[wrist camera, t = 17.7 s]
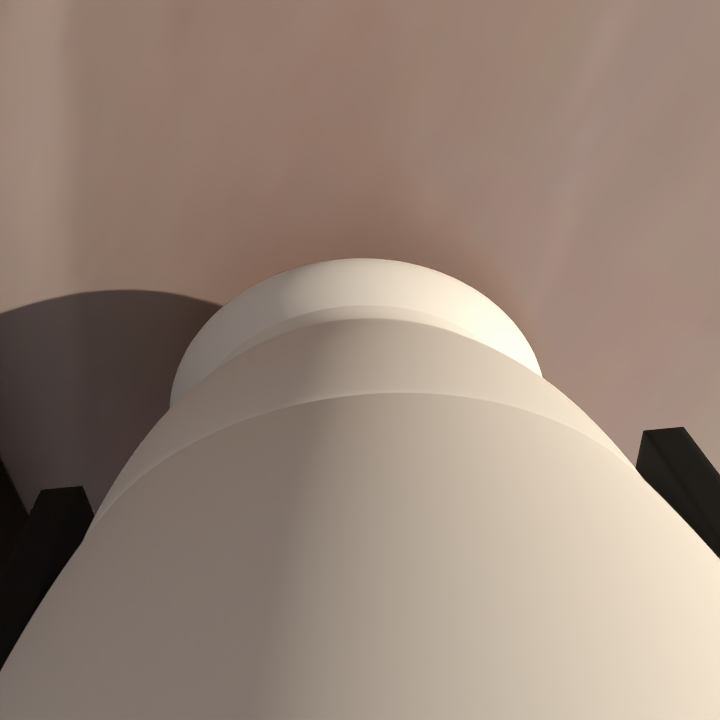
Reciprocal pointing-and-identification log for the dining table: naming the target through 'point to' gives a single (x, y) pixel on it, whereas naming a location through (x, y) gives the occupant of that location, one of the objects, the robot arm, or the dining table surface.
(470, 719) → the jar
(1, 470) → the hob
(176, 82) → the dining table surface
